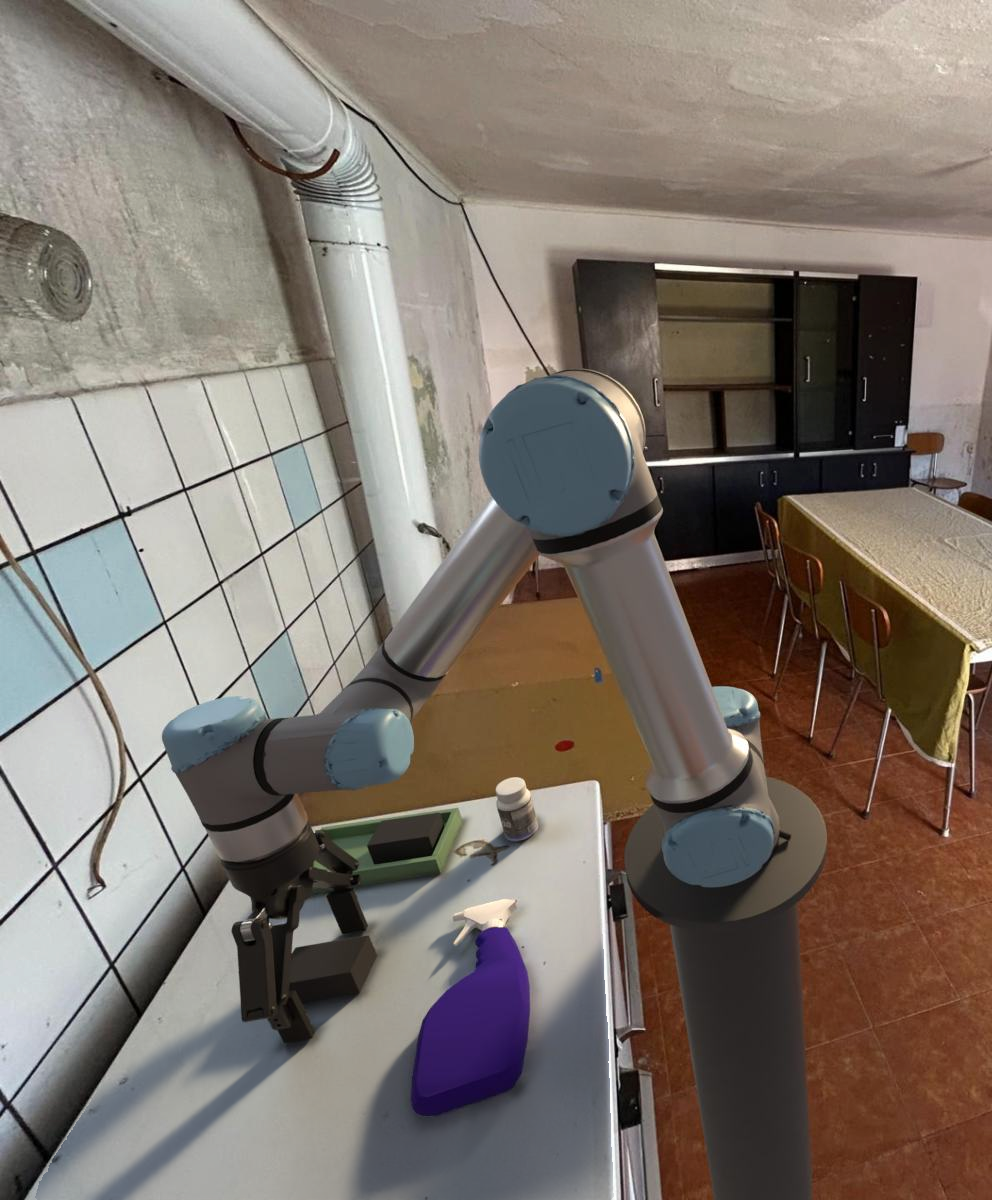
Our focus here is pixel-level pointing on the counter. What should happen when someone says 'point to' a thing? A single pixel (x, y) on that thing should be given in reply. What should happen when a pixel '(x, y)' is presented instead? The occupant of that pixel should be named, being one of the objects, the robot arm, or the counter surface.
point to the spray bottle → (475, 1022)
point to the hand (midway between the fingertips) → (330, 979)
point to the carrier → (355, 844)
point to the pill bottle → (516, 809)
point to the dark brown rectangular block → (331, 968)
